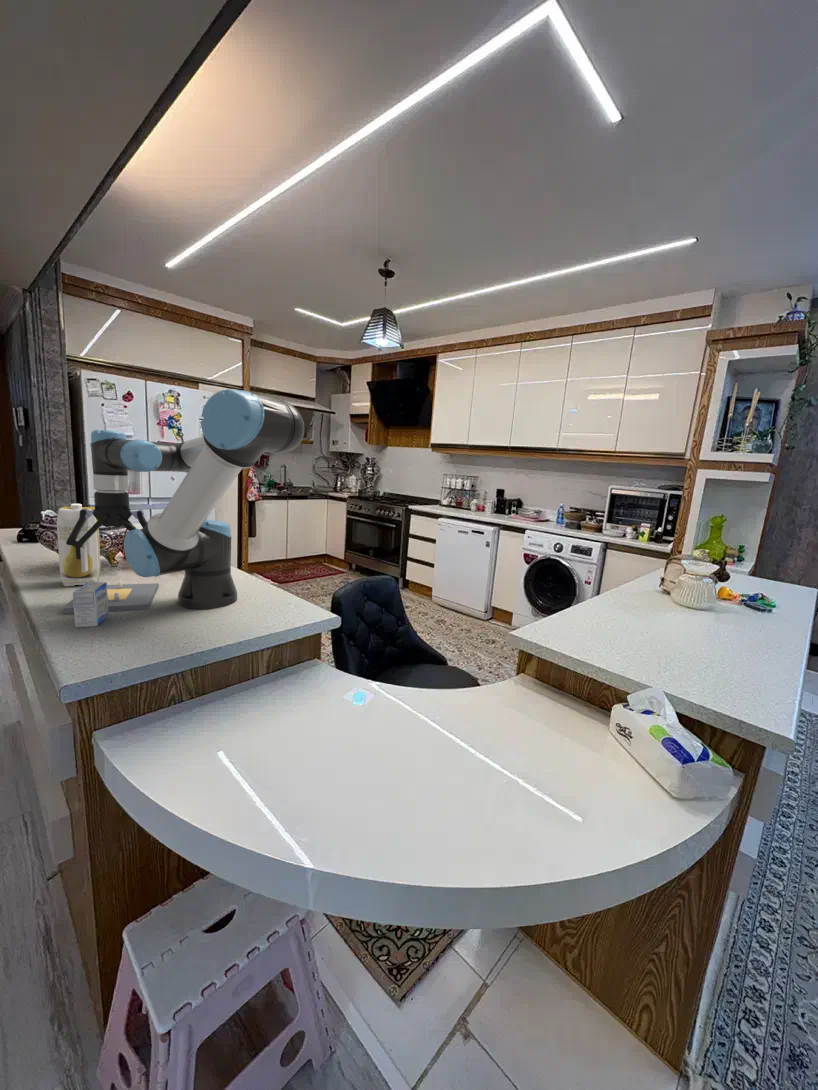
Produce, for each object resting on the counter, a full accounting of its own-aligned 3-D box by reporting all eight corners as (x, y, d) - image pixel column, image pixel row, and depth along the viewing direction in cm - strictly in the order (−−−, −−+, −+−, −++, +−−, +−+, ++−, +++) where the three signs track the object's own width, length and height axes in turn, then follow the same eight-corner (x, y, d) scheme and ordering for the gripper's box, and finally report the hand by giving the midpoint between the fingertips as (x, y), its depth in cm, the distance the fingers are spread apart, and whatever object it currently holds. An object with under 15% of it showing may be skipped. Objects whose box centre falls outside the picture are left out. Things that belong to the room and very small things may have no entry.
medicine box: (97, 627, 101) (95, 591, 99) (74, 628, 99) (72, 591, 98) (108, 615, 108) (107, 581, 107) (87, 616, 107) (85, 581, 105)
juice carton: (59, 588, 125) (53, 504, 121) (64, 580, 132) (59, 501, 127) (99, 585, 129) (95, 505, 125) (102, 578, 136) (98, 502, 132)
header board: (158, 588, 132) (158, 576, 131) (148, 609, 114) (148, 597, 113) (86, 590, 125) (85, 578, 124) (64, 614, 107) (63, 600, 106)
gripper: (167, 492, 122) (169, 565, 126) (57, 488, 112) (63, 568, 116) (164, 494, 115) (166, 572, 119) (46, 490, 105) (53, 575, 109)
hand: (115, 570), depth 118 cm, fingers open, 13 cm apart
